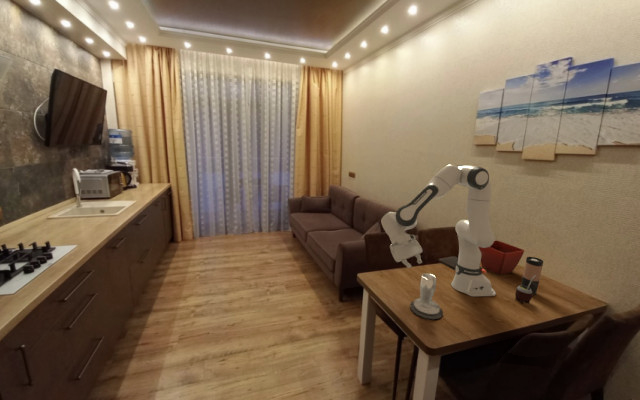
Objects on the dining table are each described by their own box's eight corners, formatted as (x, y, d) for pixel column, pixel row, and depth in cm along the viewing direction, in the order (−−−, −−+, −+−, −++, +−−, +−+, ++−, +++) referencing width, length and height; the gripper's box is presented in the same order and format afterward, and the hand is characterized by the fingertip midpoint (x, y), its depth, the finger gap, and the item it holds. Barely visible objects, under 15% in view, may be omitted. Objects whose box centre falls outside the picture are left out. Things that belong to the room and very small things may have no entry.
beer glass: (434, 304, 132) (439, 276, 129) (429, 310, 127) (434, 281, 124) (420, 298, 137) (424, 271, 134) (415, 304, 132) (419, 276, 129)
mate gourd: (514, 301, 144) (519, 276, 140) (514, 295, 150) (519, 270, 147) (531, 307, 139) (537, 280, 136) (530, 300, 146) (536, 274, 143)
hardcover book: (453, 259, 199) (454, 256, 198) (482, 272, 178) (483, 269, 177) (437, 261, 192) (438, 258, 192) (465, 276, 172) (466, 273, 171)
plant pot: (500, 278, 170) (505, 253, 167) (473, 265, 188) (477, 242, 184) (520, 274, 177) (525, 250, 174) (493, 262, 194) (497, 240, 191)
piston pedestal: (436, 302, 139) (437, 297, 139) (447, 321, 125) (448, 315, 124) (406, 300, 140) (407, 295, 140) (414, 318, 126) (415, 312, 125)
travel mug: (537, 291, 155) (544, 259, 151) (535, 296, 150) (543, 263, 146) (520, 286, 160) (527, 255, 156) (518, 291, 155) (525, 259, 151)
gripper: (392, 242, 132) (407, 267, 126) (416, 234, 144) (430, 258, 139) (384, 247, 136) (398, 273, 131) (407, 240, 149) (421, 263, 143)
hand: (415, 265), depth 135 cm, fingers open, 8 cm apart
